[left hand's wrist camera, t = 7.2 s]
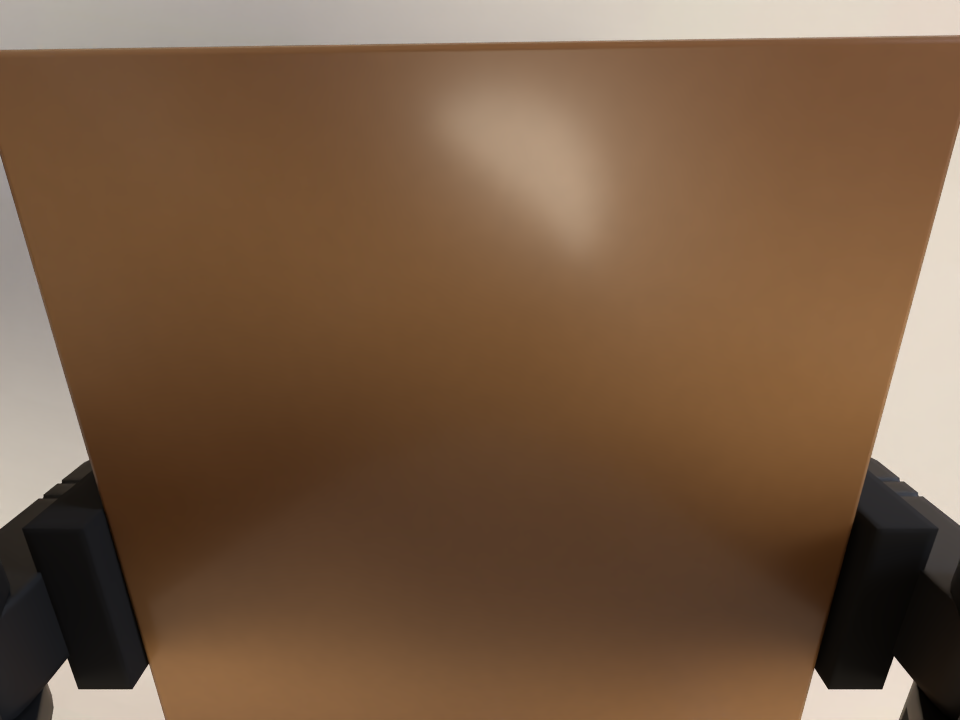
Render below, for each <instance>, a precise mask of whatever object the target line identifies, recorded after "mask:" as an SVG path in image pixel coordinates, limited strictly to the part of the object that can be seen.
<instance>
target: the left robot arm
mask: <svg viewBox="0 0 960 720" xmlns="http://www.w3.org/2000/svg"><path fill="white" fill-rule="evenodd" d="M893 657H895V658H896V659H897V660H898V662H899V663H900V664H901V665H902V666H903V668H904V669H905V670H906V671H907V673H908V674H909V675H910V676H911V677H912V679H913V680H914V681H913V684H912V686H911V689H910V692H909V694H908V697H907V700H906V702H905V705H904V708H903V710H902V713H901V716H900V718H899V720H960V525H958V524H957V523H956V522H955V521H953V520H952V519H951V518H949V517H948V516H947V515H946V514H944V513H943V512H942V511H941V510H939V509H938V508H937V507H936V506H934V505H933V504H932V503H930V502H929V501H928V500H927V499H925V498H924V497H923V496H918V492H916V491H915V490H914V489H913V488H911V487H910V486H909V485H908V484H906V483H905V482H900V480H899V477H897V476H896V475H895V474H894V473H892V472H891V471H890V470H888V469H887V468H886V467H885V466H883V465H882V464H881V463H880V462H878V461H877V460H875V459H873V458H870V462H869V466H868V469H867V473H866V477H865V480H864V484H863V488H862V492H861V495H860V499H859V503H858V507H857V510H856V514H855V518H854V522H853V525H852V529H851V533H850V537H849V540H848V544H847V548H846V552H845V555H844V559H843V563H842V567H841V570H840V574H839V578H838V582H837V585H836V589H835V593H834V596H833V600H832V604H831V608H830V611H829V615H828V619H827V623H826V626H825V630H824V634H823V638H822V641H821V645H820V649H819V653H818V656H817V660H816V664H815V669H816V671H817V672H818V674H819V676H820V677H821V679H822V680H823V682H824V683H825V685H826V686H827V688H828V689H883V686H884V683H885V680H886V677H887V674H888V672H889V669H890V666H891V663H892V660H893ZM67 658H68V661H69V664H70V667H71V670H72V672H73V675H74V678H75V681H76V684H77V687H78V689H133V687H134V686H135V684H136V683H137V681H138V680H139V678H140V677H141V675H142V673H143V672H144V670H145V669H146V667H147V666H148V664H149V662H148V658H147V655H146V651H145V648H144V644H143V641H142V638H141V634H140V631H139V627H138V624H137V621H136V617H135V614H134V610H133V607H132V603H131V600H130V597H129V593H128V590H127V586H126V583H125V579H124V576H123V573H122V569H121V566H120V562H119V559H118V556H117V552H116V549H115V545H114V542H113V538H112V535H111V532H110V528H109V525H108V521H107V518H106V514H105V511H104V508H103V504H102V501H101V497H100V494H99V491H98V487H97V484H96V480H95V477H94V473H93V470H92V467H91V463H90V460H89V461H86V462H84V463H83V464H82V465H80V466H79V467H78V468H77V469H75V470H74V471H73V472H72V473H70V474H69V475H68V476H67V477H65V478H64V479H63V480H62V483H61V484H57V485H55V486H54V487H53V488H51V489H50V490H49V491H48V492H46V493H45V494H44V497H43V499H38V500H36V501H35V502H34V503H33V504H31V505H30V506H29V507H28V508H26V509H25V510H24V511H22V512H21V513H20V514H19V515H17V516H16V517H15V518H14V519H12V520H11V521H10V522H9V523H7V524H6V525H5V526H4V527H2V528H1V529H0V720H52V714H53V708H54V707H53V700H52V694H51V692H50V689H49V686H48V684H47V683H48V682H49V680H50V679H51V678H52V677H53V675H54V674H55V673H56V672H57V670H58V669H59V668H60V667H61V665H62V664H63V663H64V662H65V661H66V659H67Z"/></svg>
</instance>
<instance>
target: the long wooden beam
mask: <svg viewBox="0 0 960 720" xmlns="http://www.w3.org/2000/svg"><path fill="white" fill-rule="evenodd" d="M959 125H960V35H946V36H881V37H816V38H751V39H686V40H621V41H556V42H491V43H426V44H361V45H295V46H230V47H165V48H100V49H35V50H0V155H1V159H2V162H3V166H4V169H5V172H6V176H7V179H8V183H9V186H10V189H11V193H12V196H13V200H14V203H15V207H16V210H17V213H18V217H19V220H20V224H21V227H22V231H23V234H24V237H25V241H26V244H27V248H28V251H29V254H30V258H31V261H32V265H33V268H34V272H35V275H36V278H37V282H38V285H39V289H40V292H41V296H42V299H43V302H44V306H45V309H46V313H47V316H48V319H49V323H50V326H51V330H52V333H53V337H54V340H55V343H56V347H57V350H58V354H59V357H60V361H61V364H62V367H63V371H64V374H65V378H66V381H67V384H68V388H69V391H70V395H71V398H72V402H73V405H74V408H75V412H76V415H77V419H78V422H79V426H80V429H81V432H82V436H83V439H84V443H85V446H86V449H87V453H88V456H89V460H90V463H91V467H92V470H93V473H94V477H95V480H96V484H97V487H98V491H99V494H100V497H101V501H102V504H103V508H104V511H105V514H106V518H107V521H108V525H109V528H110V532H111V535H112V538H113V542H114V545H115V549H116V552H117V556H118V559H119V562H120V566H121V569H122V573H123V576H124V579H125V583H126V586H127V590H128V593H129V597H130V600H131V603H132V607H133V610H134V614H135V617H136V621H137V624H138V627H139V631H140V634H141V638H142V641H143V644H144V648H145V651H146V655H147V658H148V662H149V665H150V668H151V672H152V675H153V679H154V682H155V686H156V689H157V692H158V696H159V699H160V703H161V706H162V709H163V713H164V716H165V720H801V716H802V712H803V709H804V705H805V701H806V698H807V694H808V690H809V686H810V683H811V679H812V675H813V671H814V668H815V664H816V660H817V656H818V653H819V649H820V645H821V641H822V638H823V634H824V630H825V626H826V623H827V619H828V615H829V611H830V608H831V604H832V600H833V596H834V593H835V589H836V585H837V582H838V578H839V574H840V570H841V567H842V563H843V559H844V555H845V552H846V548H847V544H848V540H849V537H850V533H851V529H852V525H853V522H854V518H855V514H856V510H857V507H858V503H859V499H860V495H861V492H862V488H863V484H864V480H865V477H866V473H867V469H868V466H869V462H870V458H871V454H872V451H873V447H874V443H875V439H876V436H877V432H878V428H879V424H880V421H881V417H882V413H883V409H884V406H885V402H886V398H887V394H888V391H889V387H890V383H891V379H892V376H893V372H894V368H895V364H896V361H897V357H898V353H899V349H900V346H901V342H902V338H903V335H904V331H905V327H906V323H907V320H908V316H909V312H910V308H911V305H912V301H913V297H914V293H915V290H916V286H917V282H918V278H919V275H920V271H921V267H922V263H923V260H924V256H925V252H926V248H927V245H928V241H929V237H930V233H931V230H932V226H933V222H934V219H935V215H936V211H937V207H938V204H939V200H940V196H941V192H942V189H943V185H944V181H945V177H946V174H947V170H948V166H949V162H950V159H951V155H952V151H953V147H954V144H955V140H956V136H957V132H958V129H959Z"/></svg>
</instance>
